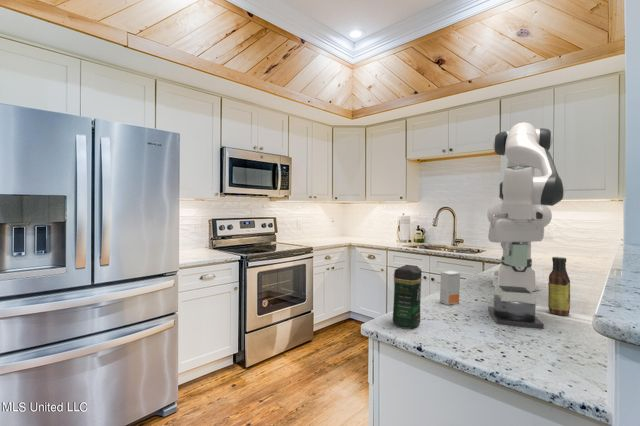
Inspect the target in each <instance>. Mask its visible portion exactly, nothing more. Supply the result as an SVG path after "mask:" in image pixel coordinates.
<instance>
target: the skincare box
mask: <svg viewBox="0 0 640 426" xmlns="http://www.w3.org/2000/svg"><path fill="white" fill-rule="evenodd" d="M460 281H461V273H460V272H458V271H455V270H449V271H448V270H445V271H441V272H440V286H439V287H440V288H439V293H440V294H439V302H440V303H442V304H444V305H446V306H451V305H456V304H460V288H461V287H460V286H461V285H460V284H461V282H460Z"/></svg>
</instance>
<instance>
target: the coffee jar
mask: <svg viewBox="0 0 640 426" xmlns="http://www.w3.org/2000/svg"><path fill="white" fill-rule="evenodd" d="M393 284H394V285H393V286H394V287H393V307H392V323H393V325H395V326H397V327H399V328H403V329H407V328H408V329H414V328H416V327H417V326H418V325H420V322H421V301H422V300H421V297H422V296H421V295H422V294H421V293H422V291H421V290H422V269H421V268H420V267H419V266H418V265H414V264H413V265H412V264H405V265H402V266H400V267H397V268H395V269H394V273H393Z"/></svg>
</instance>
